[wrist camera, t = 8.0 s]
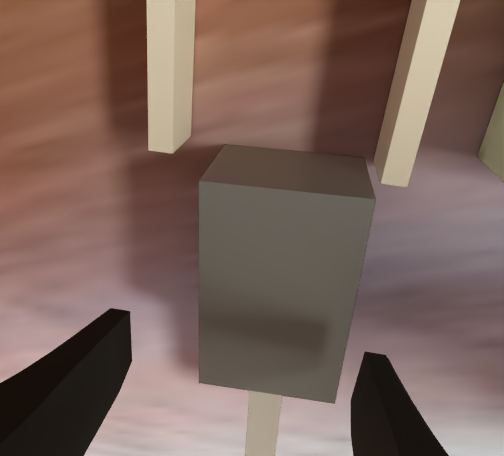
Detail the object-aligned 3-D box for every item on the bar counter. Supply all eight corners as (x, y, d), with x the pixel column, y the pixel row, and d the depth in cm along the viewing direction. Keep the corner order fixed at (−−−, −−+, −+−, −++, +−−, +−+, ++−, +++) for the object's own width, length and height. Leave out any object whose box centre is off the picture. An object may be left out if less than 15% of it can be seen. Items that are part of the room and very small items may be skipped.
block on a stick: (320, 395, 21) (320, 473, 17) (219, 380, 21) (199, 453, 18) (363, 155, 16) (375, 199, 12) (225, 142, 16) (198, 181, 12)
